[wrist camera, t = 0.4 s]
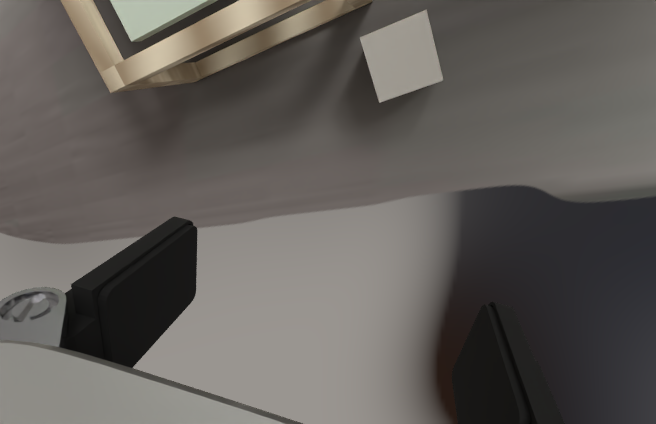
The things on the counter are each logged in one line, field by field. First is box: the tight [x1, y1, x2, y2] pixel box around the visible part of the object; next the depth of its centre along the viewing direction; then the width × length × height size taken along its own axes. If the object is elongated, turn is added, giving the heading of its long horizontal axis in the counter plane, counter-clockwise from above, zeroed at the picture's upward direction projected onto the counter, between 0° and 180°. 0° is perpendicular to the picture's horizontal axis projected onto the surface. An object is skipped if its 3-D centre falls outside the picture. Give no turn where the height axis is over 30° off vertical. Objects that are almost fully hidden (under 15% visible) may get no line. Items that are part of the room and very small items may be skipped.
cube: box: [360, 10, 443, 103], centre depth 29 cm, size 5×5×6 cm
